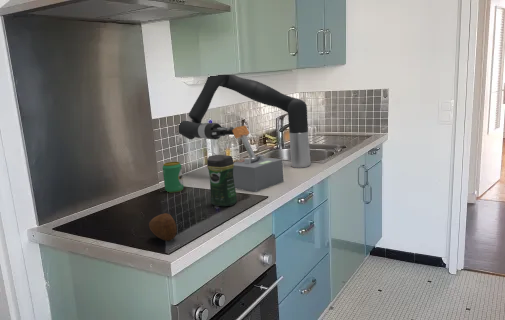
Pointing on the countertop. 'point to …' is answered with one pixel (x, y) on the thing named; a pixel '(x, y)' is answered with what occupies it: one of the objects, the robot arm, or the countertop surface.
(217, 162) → the coffee jar
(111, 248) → the countertop surface
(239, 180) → the switch box
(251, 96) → the robot arm
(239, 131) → the mallet
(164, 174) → the beverage can
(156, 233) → the potato
